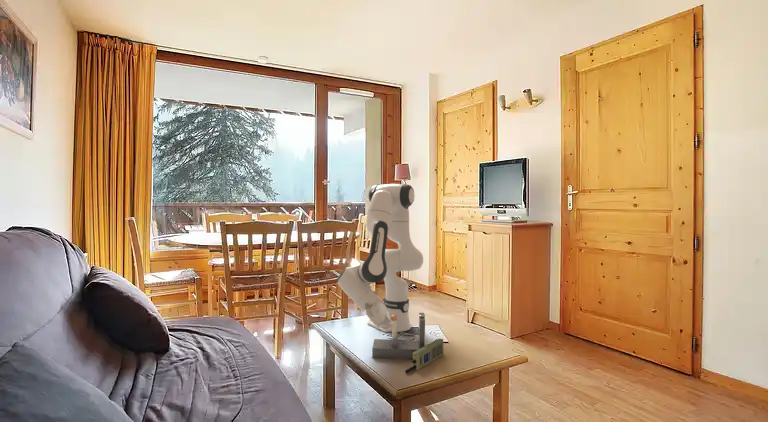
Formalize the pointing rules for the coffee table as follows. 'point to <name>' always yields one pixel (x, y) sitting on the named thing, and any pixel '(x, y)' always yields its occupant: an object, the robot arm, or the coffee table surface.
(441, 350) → the handheld radio
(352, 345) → the coffee table surface
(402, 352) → the breaker box
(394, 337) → the lever
